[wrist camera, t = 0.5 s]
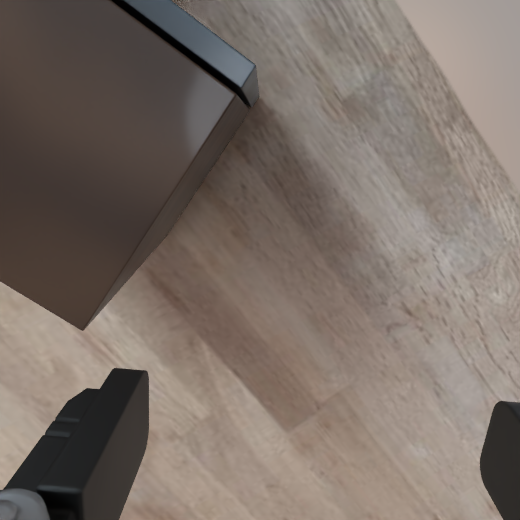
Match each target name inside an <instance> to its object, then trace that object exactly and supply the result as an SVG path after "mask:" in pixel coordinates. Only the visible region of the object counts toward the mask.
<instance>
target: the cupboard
mask: <svg viewBox="0 0 520 520" xmlns="http://www.w3.org/2000/svg"><path fill="white" fill-rule="evenodd" d="M249 111H250V110H249V109H248V108H247V106H246V105H245V104H244V103H243V101H242V100H241V99H240V98H239V96H238V95H237V94H236V93H235V92H234V91H232V90H231V89H230V88H228V87H227V86H226V85H224V84H223V83H222V82H220V81H219V80H218V79H216V78H215V77H214V76H212V75H211V74H210V73H208V72H207V71H206V70H204V69H203V68H201V67H200V66H199V65H197V64H196V63H195V62H193V61H192V60H191V59H189V58H188V57H187V56H185V55H184V54H183V53H181V52H180V51H179V50H177V49H176V48H175V47H173V46H172V45H171V44H169V43H168V42H166V41H165V40H164V39H162V38H161V37H160V36H158V35H157V34H156V33H154V32H153V31H152V30H150V29H149V28H148V27H146V26H145V25H144V24H142V23H141V22H140V21H138V20H137V19H136V18H134V17H133V16H131V15H130V14H129V13H127V12H126V11H125V10H123V9H122V8H121V7H119V6H118V5H117V4H115V3H114V2H113V1H111V0H0V281H1V282H2V283H4V284H6V285H7V286H9V287H11V288H12V289H14V290H15V291H17V292H19V293H20V294H22V295H24V296H25V297H27V298H29V299H30V300H32V301H34V302H35V303H37V304H39V305H40V306H42V307H44V308H45V309H47V310H49V311H50V312H52V313H54V314H55V315H57V316H59V317H60V318H62V319H64V320H65V321H67V322H69V323H70V324H72V325H74V326H75V327H77V328H78V329H80V330H82V331H83V330H84V329H85V328H86V327H87V326H88V325H89V324H90V323H91V321H92V320H93V319H94V318H95V317H96V316H97V315H98V314H99V312H100V311H101V310H102V309H103V308H104V307H105V306H106V304H107V303H108V302H109V301H110V300H111V299H112V298H113V296H114V295H115V294H116V293H117V292H118V291H119V290H120V289H121V287H122V286H123V285H124V284H125V283H126V282H127V281H128V279H129V278H130V277H131V276H132V275H133V274H134V273H135V271H136V270H137V269H138V268H139V267H140V266H141V265H142V263H143V262H144V261H145V260H146V259H147V258H148V257H149V255H150V254H151V253H152V252H153V251H154V250H155V249H156V248H157V246H158V245H159V244H160V243H161V242H162V241H163V240H164V238H165V237H166V236H167V235H168V233H169V232H170V230H171V229H172V227H173V226H174V224H175V223H176V221H177V220H178V218H179V217H180V215H181V214H182V212H183V211H184V209H185V208H186V206H187V205H188V203H189V202H190V200H191V199H192V197H193V195H194V194H195V192H196V191H197V189H198V188H199V186H200V185H201V183H202V182H203V180H204V179H205V177H206V176H207V174H208V173H209V171H210V170H211V168H212V167H213V165H214V164H215V162H216V161H217V159H218V158H219V156H220V155H221V153H222V152H223V150H224V149H225V147H226V146H227V144H228V143H229V141H230V140H231V138H232V137H233V135H234V134H235V132H236V131H237V129H238V128H239V126H240V125H241V123H242V122H243V120H244V119H245V117H246V116H247V114H248V113H249Z"/></svg>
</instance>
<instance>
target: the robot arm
mask: <svg viewBox="0 0 520 520" xmlns="http://www.w3.org/2000/svg"><path fill="white" fill-rule="evenodd" d="M148 432H149V377H148V372H147V371H144V370H132V369H120V368H114V369H113V370H112V371H111V372H110V374H109V375H108V377H107V379H106V380H105V382H104V383H103V385H102V386H101V388H100V389H90V388H87V389H85V390H84V391H82V392H81V393H79V394H78V395H76V396H75V397H73V398H72V399H70V400H69V401H68V402H67V403H66V404H65V406H64V407H63V409H62V410H61V411H60V413H59V414H58V415H57V417H56V420H55V421H53V422H52V424H51V425H50V426H49V428H48V429H47V430H46V433H45V435H43V436H42V437H41V439H40V440H39V441H38V443H37V444H36V445H35V447H34V448H33V450H32V451H31V452H30V454H29V455H28V456H27V458H26V459H25V461H24V462H23V463H22V465H21V466H20V467H19V469H18V470H17V472H16V473H15V474H14V476H13V477H12V478H11V480H10V481H9V482H8V484H7V485H6V487H5V488H4V489H3V490H0V520H119V518H120V515H121V513H122V510H123V508H124V505H125V503H126V500H127V497H128V495H129V492H130V490H131V487H132V485H133V482H134V479H135V477H136V474H137V472H138V469H139V467H140V464H141V462H142V459H143V456H144V453H145V450H146V445H147V440H148ZM480 471H481V477H482V480H483V483H484V485H485V488H486V489H487V491H488V493H489V495H490V497H491V498H492V500H493V502H494V504H495V505H496V507H497V509H498V511H499V513H500V514H501V516H502V518H503V520H520V403H518V402H506V401H500V402H498V403H497V404H496V405H495V407H494V409H493V412H492V416H491V420H490V423H489V427H488V431H487V435H486V438H485V442H484V446H483V449H482V453H481V457H480Z"/></svg>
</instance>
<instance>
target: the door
mask: <svg viewBox="0 0 520 520" xmlns="http://www.w3.org/2000/svg"><path fill="white" fill-rule="evenodd" d="M111 1H113V2H114V3H115V4H117V5H118V6H119V7H121V8H122V9H123V10H125V11H126V12H127V13H129V14H130V15H131V16H133V17H134V18H136V19H137V20H138V21H140V22H141V23H142V24H144V25H145V26H146V27H148V28H149V29H150V30H152V31H153V32H154V33H156V34H157V35H158V36H160V37H161V38H162V39H164V40H165V41H166V42H168V43H169V44H171V45H172V46H173V47H175V48H176V49H177V50H179V51H180V52H181V53H183V54H184V55H185V56H187V57H188V58H189V59H191V60H192V61H193V62H195V63H196V64H197V65H199V66H200V67H201V68H203V69H204V70H206V71H207V72H208V73H210V74H211V75H212V76H214V77H215V78H216V79H218V80H219V81H220V82H222V83H223V84H224V85H226V86H227V87H228V88H230V89H231V90H232V91H234V92H235V93H236V94H237V95H238V96H239V98H240V99H241V100H242V101H244V102H245V103H246V104H248V105H249V106H250V107H253V105H254V104H255V102H256V101H257V99H258V98H259V89H258V80H257V71H256V65H255V64H254V63H253V62H251V61H250V60H249V59H247V58H246V57H245V56H243V55H242V54H241V53H239V52H238V51H237V50H236V49H234V48H233V47H232V46H230V45H229V44H228V43H226V42H225V41H224V40H222V39H221V38H220V37H218V36H217V35H216V34H214V33H213V32H212V31H211V30H209V29H208V28H207V27H205V26H204V25H203V24H201V23H200V22H199V21H197V20H196V19H195V18H193V17H192V16H191V15H189V14H188V13H187V12H186V11H184V10H183V9H182V8H180V7H179V6H178V5H176V4H175V3H174V2H172V1H171V0H111Z"/></svg>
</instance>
